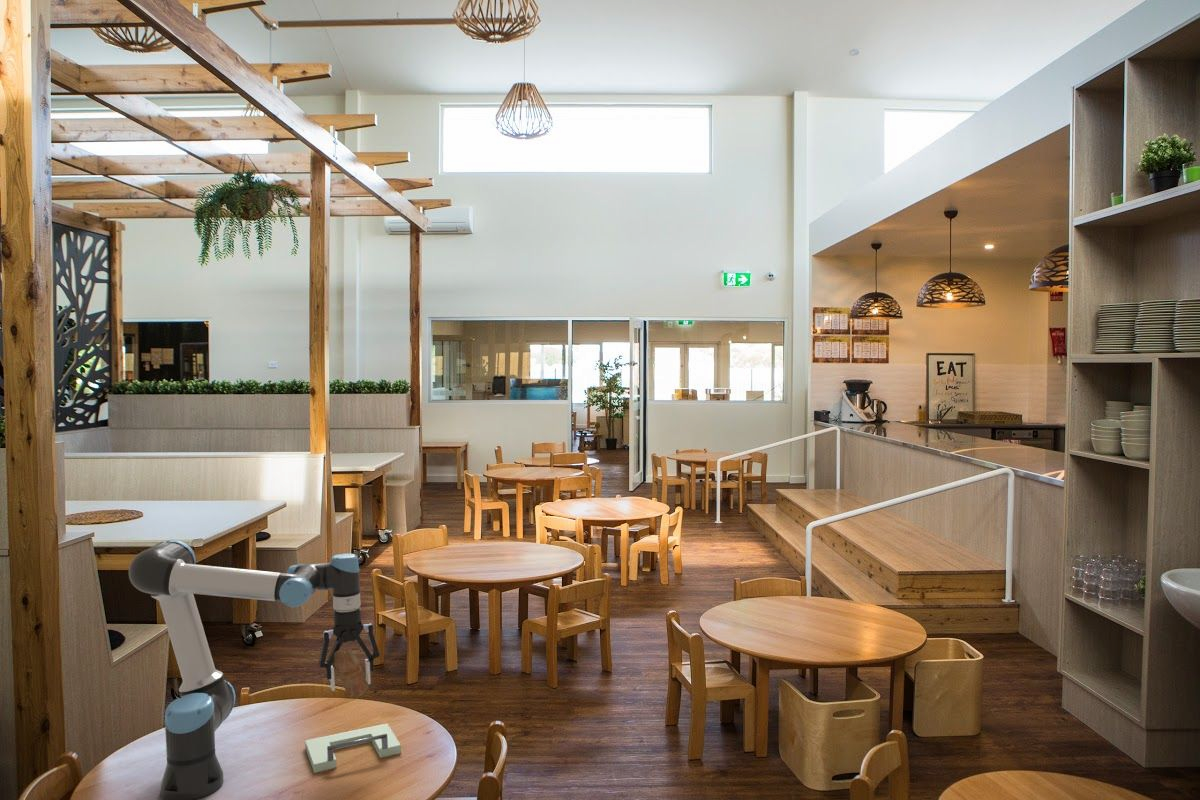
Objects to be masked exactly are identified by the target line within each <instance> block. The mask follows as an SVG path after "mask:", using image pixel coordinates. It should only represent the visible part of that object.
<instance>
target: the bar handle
mask: <svg viewBox="0 0 1200 800" xmlns="http://www.w3.org/2000/svg"><path fill="white" fill-rule="evenodd" d="M377 739H382V749H386V748H388V738H387V734H383V735H378V736H374V737H369V738H364V739H360V740H355V741H350V742H346V743H341V744H336V745H332V746H327V759H328V761H332V760H334V759H333V753H334V750H333V749H335V750H337V749H336V748H339V749H341V748H340V747H344V748H346V747H345V746H349V747H351V746H350V745H353V746H355V745H354V744H358V745H360V744H359V743H362V744H364V743H363V742H367V743H369V742H368V741H373V740H377Z"/></svg>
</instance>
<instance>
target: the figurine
mask: <svg viewBox="0 0 1200 800" xmlns="http://www.w3.org/2000/svg"><path fill="white" fill-rule="evenodd" d="M360 663H361V659H360V658H359V656H357V655H356V653H354V652H352V651H350V650H347V649H343V648H342V649H341V648H339V650H337V651H336V652H335V653H334V661H333V664H332V665H333V667H334V669H335V670H336V671H337V674H338V676H339V678H340V680H341V681H342V684H343V686H344V690H345V692H346V693H345V694H346V696H347V698H351V697H353V696H355V697H361V696H362V695H363V694H364V692H366V691H367V690H368V688H369V684H368V683H367V682H366V679H365V678H364V674H363V667H362V666H361V665H359V664H360Z"/></svg>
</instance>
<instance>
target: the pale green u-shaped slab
mask: <svg viewBox="0 0 1200 800" xmlns="http://www.w3.org/2000/svg"><path fill="white" fill-rule="evenodd" d="M383 734H387V738H388V748H386V749H382V739H377V740H373V741H368V742H363V743H359V744H354V745H350V746H345V747H340V748H336V749H335V750H339V749H343V748H347V747H353V746H357V745H361V744H365V743H372V746H373V747H374V749H375V750H376V753H377V755H378V756H379V758H380V759H382V758H386V757H389V756H394V755H399V754H402V745H401V743H400V741H399V740H398V738H397V737H396V734H395V733H394V731H393V730H392V729H391V727H390V725H389V723H388V722H386V723H382V724H378V725H373V726H367V727H362V728H358V729H354V730H349V731H344V732H339V733H334V734H330V735H325V736H320V737H314V738H311V739H305V741H304V744H305V745H304V746H305V747H304V748H305V750H306V753H307V757H308V759H309V762H310V765H311V767H312V770H313V773H314V774H316V773H318V772H319V773H320V772H324V770H325V771H329V770H332V768H333V769H336V768H335V767H337V766H338V765H337V764H338V763H337V758H336V755H335V753H334V752H333V759H334V760H332V761H328V759H327V746H332V745H336V744H341V743H346V742H350V741H355V740H360V739H364V738H369V737H374V736H378V735H383ZM328 769H329V770H328Z"/></svg>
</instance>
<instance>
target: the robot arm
mask: <svg viewBox="0 0 1200 800" xmlns="http://www.w3.org/2000/svg"><path fill="white" fill-rule="evenodd" d="M330 559H331V560H330V562H324V563H322V562H321V563H299V564H294V565H290V566H289V567H288V569H287V572H286V573H284V572H276V571H275V572H274V571H265V570H257V569H247V568H237V567H236V568H235V567H225V566H224V567H223V566H214V565H213V566H212V565H206V564H205V565H203V564H196V554H195V552H194V550H193V548H192V547H191V546H190V545H188V544H187V543H185V542H184V541H181V540H176V539H170V540H165V541H161V542H159V543H156V544H155V545H153V546H151V547H149V548H147V549H145V550H143V551H141V552H139V553H138V554H137V555H136V556H134V557H133V559H132V561H131V562H130V564H129V566H128V578H129V581H130V583H131V584H132V586H133V587H134V588H135V589H137V590H138V591H140V592H142V593H145V594H149V595H150V597H151V598H153V599H155V600H157V601H159V602H158V603H159V605H160V609H161V612H162V615H163V619H164V622H165V625H166V629H167V632H168V636H169V639H170V642H171V646H172V649H173V652H174V655H175V656H174V657H175V659H176V660H175V661H176V663H177V666H178V668H179V669H178V670H179V673H180V676H181V679H182V683H181V685H180V686H179V688H178V691H179V695H180V697H178V698H175V699H174V700H172V701H171V702H170V703H169V704H168V706H167V707H166V709H165V714H164V728H165V729H164V730H165V731H164V732H165V746H166V747H165V749H166V751H165V752H166V765H165V769H164V773H163V776H162V779H161V782H160V797H161V798H162V799H164V800H197V799H200V798H203V797H207V796H209V795H211V794H213V793H215V792H216V791H217V790H219V789H220V788H221V787H222V786H223V784H224V771H223V768H222V767H221V765H220V764H221V763H220V762H219V759H218V757H217V754H216V741H215V740H216V736H215V735H216V733H215V732H216V731H217V730H218V729H219V727H220V726H221V724H222V723H224V722H225V720H226V719H228V717H229V716H230V714H231V712H232V711H233V708H234V706H235V703H236V691H235V688H234V687H233V684H231V682H230V681H227V680H225V677H224V673H223V672H222V671H220V670H218V669H216V667H215V663H214V660H213V657H212V653H211V649H210V647H209V643H208V640H207V636H206V634H205V633H206V632H205V630H204V629H205V628H204V625H203V623H202V619H201V616H200V612H199V609H198V606H197V602H196V598H195V596H194V595H203V596H204V595H205V596H215V597H227V598H237V599H248V600H249V599H250V600H261V601H269V602H270V601H271V602H281V603H282V604H284V605H285V606H286V607H290V608H297V607H300V606H302V605H304V604H305V603H306V602H308V601H309V600H310V598H311V597H312V596H313V594H315V592H316V591H325V590H326V591H328V590H331V591H332V606H333V607H332V608H333V609H334V611H333V628H332V629H329V630H323V631H322V637H323V641H322V646H321V651H320V655H319V660H318V665H319V667H320V668H324V669H325V677H326V678H327V680H329V681H330V690H331V692H335V691H336V683H335V668H334V667H333V661H334V653H335V652H336V651H337V650H340V649H341V647H342V645H343V643H347V642H355V641H357V643H358V645H359V647H360V648H361V649H362V651H363V652H364V653H365V656H366V657H367V658H364V662H365V682H366V684H367V685H371V672H374V669H375V667H374V660H375V659H376V658H380V655H381V654H380V652H379V651H380V650H379V648H378V645H377V643H376V639H375V636H374V625H373V624H372V623H371V622H369V623H367V624H366V623H365V624H363V622H362V609H361V605H362V604H361V590H360V589H361V588H360V587H361V585H360V584H361V583H360V580H361V579H360V566H359V557H358V556H357V554H354V553H349V552H348V553H342V554H341V553H339V554H335V555H333V556H332V557H331V558H330ZM363 630H364V631H365V632H366V633H367V636H368V640H369V643H370V647H371V649H372V653H371V652H370V650H369V649H368V647H367V646H366V644H365V643H364V641H363V639H362V638H361V636H360V634H361V633H362V631H363ZM333 635H334V636H335V637H336V638H335V642H334V644H333V647H332V648H331V650H330V653H329V655H328V657H327V654H328V649H329V644H330V639H331V638H332V636H333Z"/></svg>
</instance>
